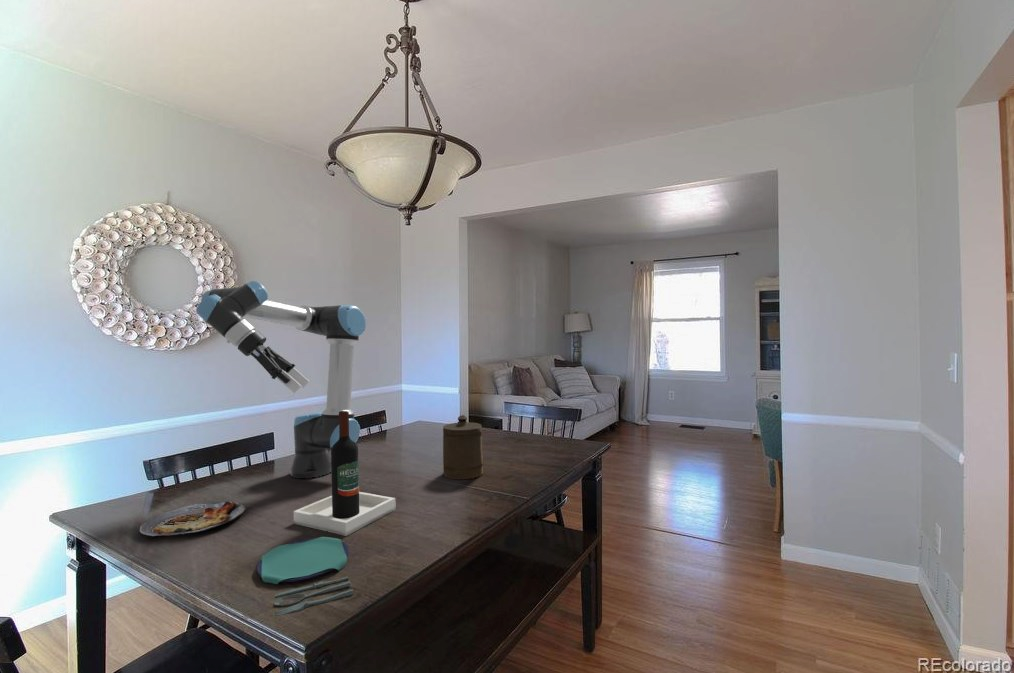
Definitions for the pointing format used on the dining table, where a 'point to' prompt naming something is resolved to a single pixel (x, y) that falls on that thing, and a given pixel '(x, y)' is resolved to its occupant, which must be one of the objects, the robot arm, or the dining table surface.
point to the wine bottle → (344, 472)
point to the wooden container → (462, 449)
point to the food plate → (193, 518)
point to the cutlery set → (304, 568)
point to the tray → (322, 518)
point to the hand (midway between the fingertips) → (302, 387)
